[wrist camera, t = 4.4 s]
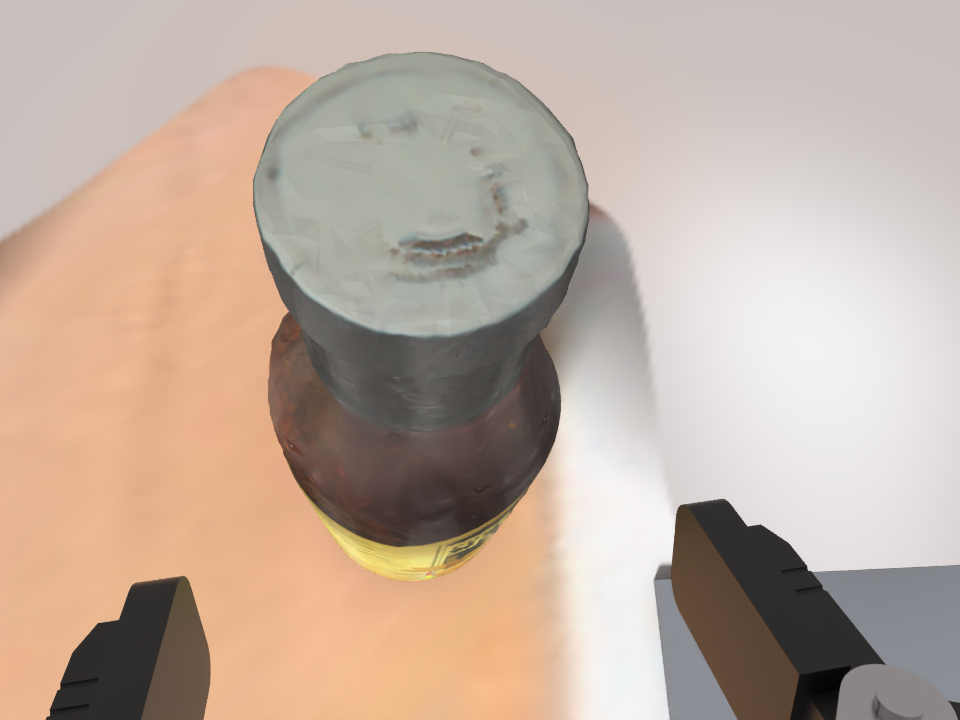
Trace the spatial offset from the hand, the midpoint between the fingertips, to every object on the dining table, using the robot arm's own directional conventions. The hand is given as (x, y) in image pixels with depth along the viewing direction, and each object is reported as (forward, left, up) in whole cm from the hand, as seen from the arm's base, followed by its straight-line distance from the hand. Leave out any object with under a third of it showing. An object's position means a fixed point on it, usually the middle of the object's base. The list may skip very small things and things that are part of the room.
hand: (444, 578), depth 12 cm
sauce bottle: (+2, +3, -15) cm, 15 cm away
